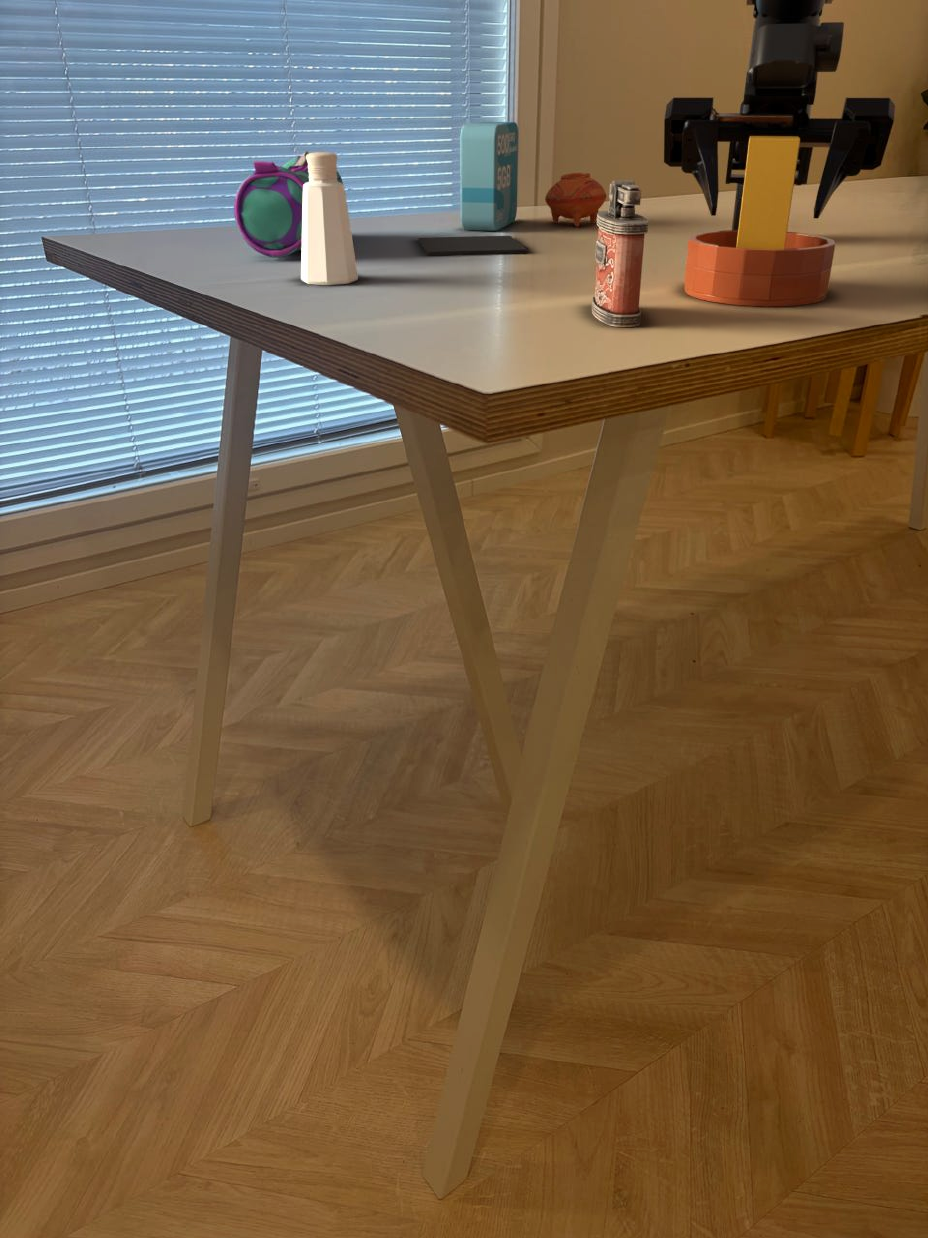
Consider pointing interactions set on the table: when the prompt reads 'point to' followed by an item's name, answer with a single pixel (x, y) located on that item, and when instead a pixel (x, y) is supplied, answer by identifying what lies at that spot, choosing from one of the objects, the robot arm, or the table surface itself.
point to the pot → (575, 198)
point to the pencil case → (273, 206)
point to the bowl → (758, 270)
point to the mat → (471, 245)
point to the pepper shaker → (326, 225)
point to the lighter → (619, 257)
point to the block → (767, 191)
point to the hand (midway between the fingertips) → (764, 213)
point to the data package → (488, 175)
